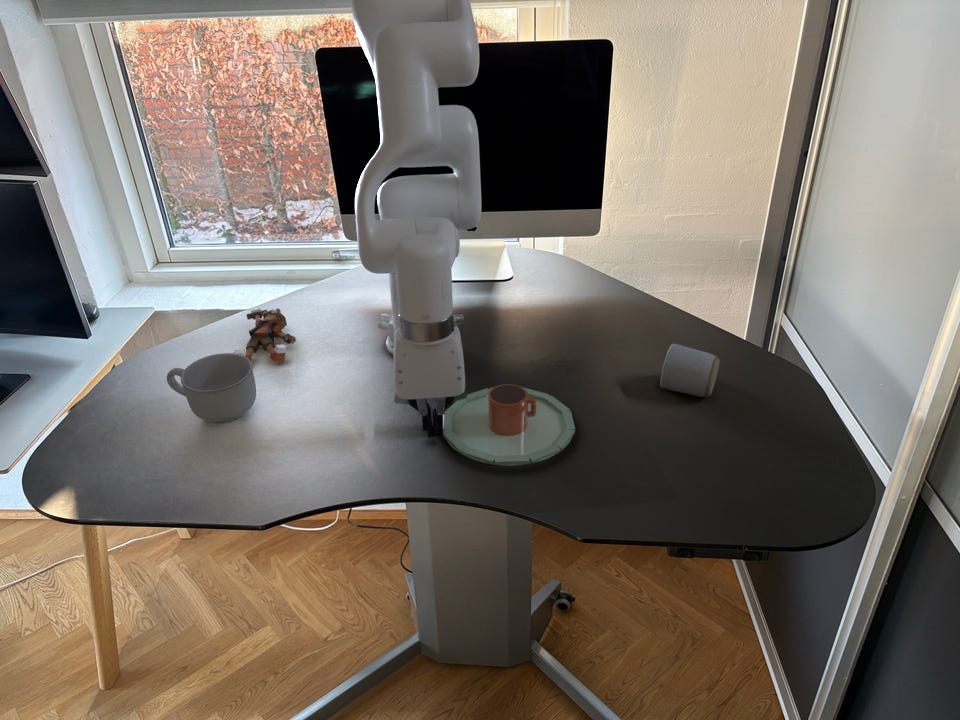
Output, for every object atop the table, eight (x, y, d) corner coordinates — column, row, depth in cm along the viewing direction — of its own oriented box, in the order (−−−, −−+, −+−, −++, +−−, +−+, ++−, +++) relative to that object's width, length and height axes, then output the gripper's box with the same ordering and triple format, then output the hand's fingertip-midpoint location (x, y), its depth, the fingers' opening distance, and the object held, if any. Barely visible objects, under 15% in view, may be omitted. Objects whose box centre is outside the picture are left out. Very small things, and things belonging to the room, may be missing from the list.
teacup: (273, 400, 119) (265, 358, 115) (233, 437, 110) (223, 392, 106) (203, 387, 123) (193, 346, 119) (159, 421, 114) (147, 378, 110)
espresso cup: (490, 437, 107) (490, 406, 104) (486, 415, 112) (485, 385, 110) (539, 433, 108) (540, 402, 105) (532, 411, 113) (533, 381, 110)
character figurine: (215, 352, 127) (246, 299, 142) (221, 374, 130) (251, 320, 145) (282, 353, 127) (306, 299, 141) (287, 375, 130) (310, 320, 144)
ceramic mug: (708, 407, 115) (715, 365, 112) (657, 396, 118) (662, 354, 115) (719, 377, 124) (726, 337, 120) (671, 367, 127) (677, 328, 123)
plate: (417, 447, 107) (417, 437, 106) (481, 384, 122) (481, 375, 122) (540, 488, 99) (541, 477, 98) (593, 415, 114) (593, 405, 113)
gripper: (477, 309, 104) (479, 415, 113) (373, 315, 103) (383, 422, 112) (482, 333, 97) (484, 443, 106) (371, 339, 96) (382, 451, 105)
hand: (432, 432), depth 109 cm, fingers closed
